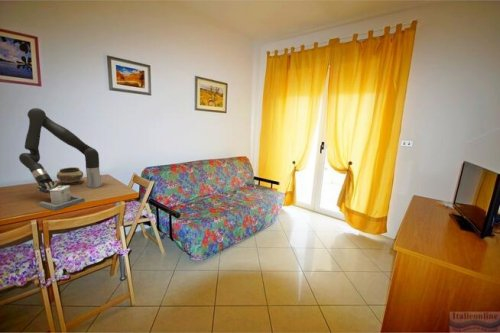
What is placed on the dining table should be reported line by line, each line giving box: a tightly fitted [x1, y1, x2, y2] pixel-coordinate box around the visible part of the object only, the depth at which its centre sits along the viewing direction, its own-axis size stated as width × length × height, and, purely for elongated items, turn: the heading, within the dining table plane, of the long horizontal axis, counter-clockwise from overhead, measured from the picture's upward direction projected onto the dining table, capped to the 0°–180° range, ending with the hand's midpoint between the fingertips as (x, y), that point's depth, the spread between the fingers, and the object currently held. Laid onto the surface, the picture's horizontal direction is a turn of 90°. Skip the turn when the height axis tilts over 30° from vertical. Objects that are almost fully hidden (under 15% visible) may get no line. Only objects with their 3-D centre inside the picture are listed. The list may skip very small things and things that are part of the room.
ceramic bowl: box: [56, 166, 84, 185], centre depth 189 cm, size 24×18×15 cm
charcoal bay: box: [38, 194, 86, 211], centre depth 148 cm, size 18×16×2 cm
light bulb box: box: [49, 185, 72, 205], centre depth 149 cm, size 11×7×11 cm, turn 13°
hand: (54, 196), depth 149 cm, fingers closed
